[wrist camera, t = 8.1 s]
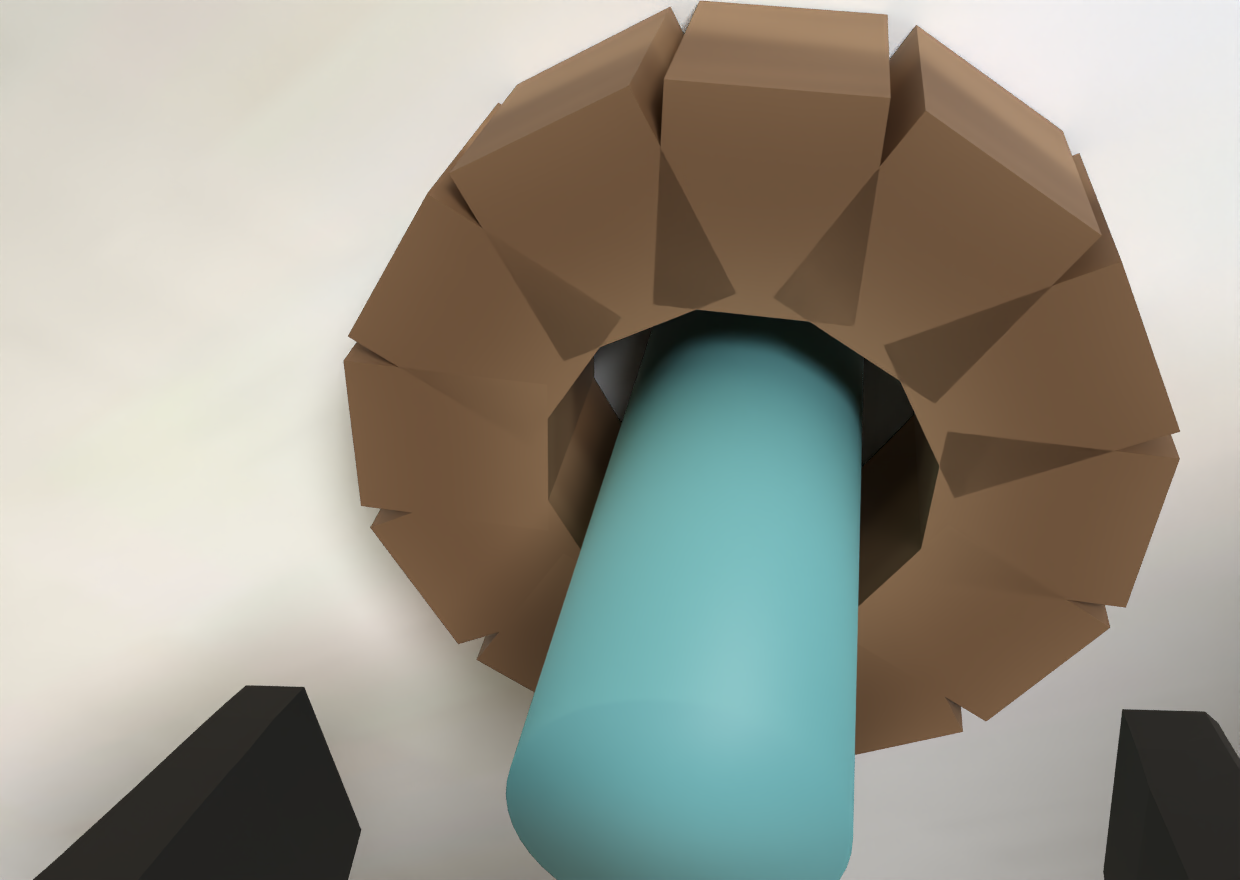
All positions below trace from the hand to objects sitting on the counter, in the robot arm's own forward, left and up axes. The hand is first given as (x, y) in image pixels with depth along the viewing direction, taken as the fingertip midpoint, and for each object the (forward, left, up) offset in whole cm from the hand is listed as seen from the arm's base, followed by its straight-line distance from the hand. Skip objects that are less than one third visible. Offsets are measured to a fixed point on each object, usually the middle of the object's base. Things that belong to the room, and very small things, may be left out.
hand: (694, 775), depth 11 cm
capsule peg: (0, 0, -8) cm, 8 cm away
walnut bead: (0, 0, -8) cm, 8 cm away
